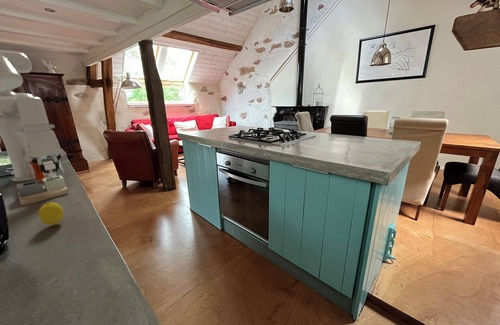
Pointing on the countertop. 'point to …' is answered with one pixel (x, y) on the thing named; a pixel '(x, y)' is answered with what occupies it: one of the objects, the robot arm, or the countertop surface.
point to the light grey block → (50, 170)
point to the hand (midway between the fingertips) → (50, 171)
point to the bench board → (43, 195)
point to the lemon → (51, 213)
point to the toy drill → (37, 171)
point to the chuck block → (30, 188)
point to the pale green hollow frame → (54, 183)
